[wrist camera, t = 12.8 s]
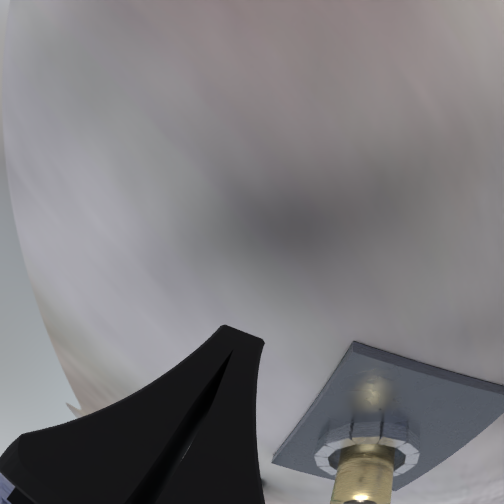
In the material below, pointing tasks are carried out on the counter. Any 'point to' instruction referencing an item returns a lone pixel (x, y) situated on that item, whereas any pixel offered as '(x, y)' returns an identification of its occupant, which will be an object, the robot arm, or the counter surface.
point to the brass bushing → (364, 475)
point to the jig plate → (390, 414)
